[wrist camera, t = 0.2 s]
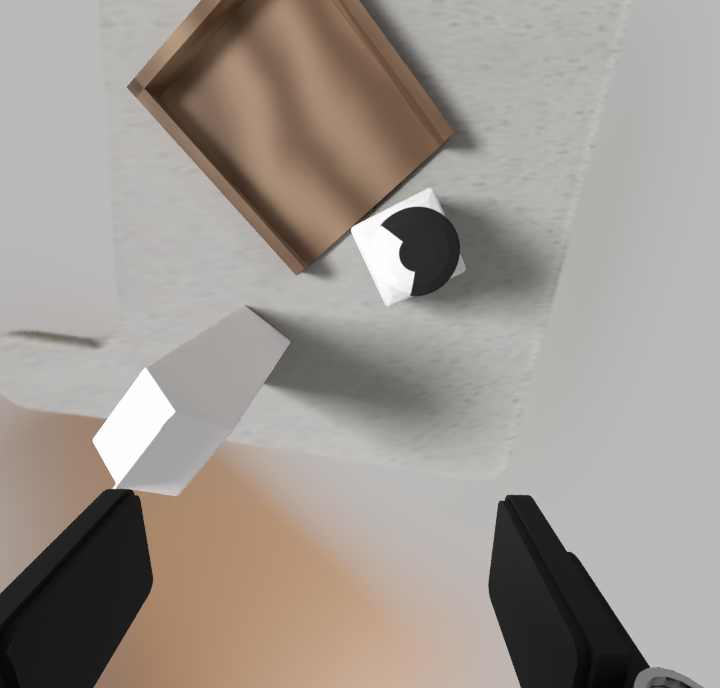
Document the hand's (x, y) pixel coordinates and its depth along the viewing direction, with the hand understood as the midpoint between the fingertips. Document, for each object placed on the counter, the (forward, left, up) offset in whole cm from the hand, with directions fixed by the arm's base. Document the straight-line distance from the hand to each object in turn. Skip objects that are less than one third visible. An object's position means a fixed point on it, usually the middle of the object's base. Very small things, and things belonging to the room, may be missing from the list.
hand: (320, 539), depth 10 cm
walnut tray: (-8, -16, -31) cm, 35 cm away
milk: (+10, -4, -31) cm, 33 cm away
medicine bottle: (-8, -2, -31) cm, 32 cm away
